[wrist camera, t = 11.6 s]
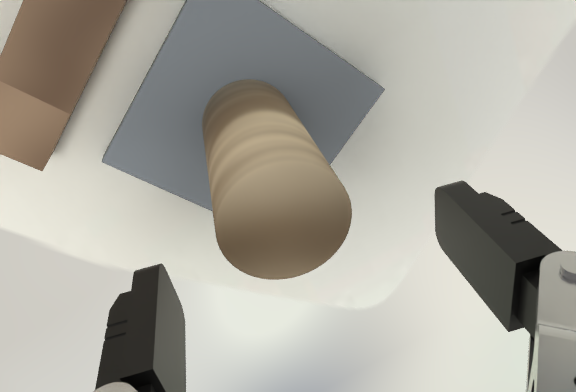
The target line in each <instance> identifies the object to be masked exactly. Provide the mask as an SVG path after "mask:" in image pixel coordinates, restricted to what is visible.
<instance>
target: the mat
mask: <svg viewBox="0 0 576 392" xmlns="http://www.w3.org/2000/svg"><path fill="white" fill-rule="evenodd" d="M245 79H253V80H259V81H263V82H266V83H268V84H270V85H272V86H274V87H275V88H276V89H278V90H279V91H280V92H281V93H282V94H283V95H284V97H285V98H286V100H287V101H288V103H289V104H290V106H291V107H292V109H293V110H294V112H295V113H296V115H297V116H298V118H299V119H300V121H301V122H302V124H303V125H304V127H305V128H306V130H307V131H308V133H309V135H310V136H311V138H312V139H313V141H314V142H315V144H316V145H317V147H318V148H319V150H320V151H321V153H322V154H323V156H324V157H325V159H326V160H327V162H328V163H329V165H330V164H331V163H332V161H333V160H334V158H335V157H336V156H337V154H338V153H339V152H340V150H341V149H342V147H343V146H344V145H345V143H346V142H347V141H348V139H349V138H350V136H351V135H352V134H353V132H354V131H355V130H356V128H357V127H358V125H359V124H360V123H361V121H362V120H363V119H364V117H365V116H366V114H367V113H368V112H369V110H370V109H371V108H372V106H373V105H374V103H375V102H376V101H377V99H378V98H379V97H380V95H381V94H382V93H383V91H384V90H385V89H384V88H383V87H381V86H380V85H378V84H377V83H376V82H374V81H373V80H371V79H370V78H369V77H367V76H366V75H364V74H363V73H361V72H360V71H359V70H357V69H356V68H354V67H353V66H351V65H350V64H349V63H347V62H346V61H344V60H343V59H341V58H340V57H339V56H337V55H336V54H334V53H333V52H332V51H330V50H329V49H327V48H326V47H324V46H323V45H322V44H320V43H319V42H317V41H316V40H314V39H313V38H312V37H310V36H309V35H307V34H306V33H304V32H303V31H302V30H300V29H299V28H297V27H296V26H295V25H293V24H292V23H290V22H289V21H287V20H286V19H285V18H283V17H282V16H280V15H279V14H277V13H276V12H275V11H273V10H272V9H270V8H269V7H267V6H266V5H265V4H263V3H262V2H260V1H259V0H186V2H185V3H184V5H183V7H182V9H181V11H180V13H179V15H178V17H177V19H176V20H175V22H174V24H173V26H172V28H171V30H170V32H169V34H168V35H167V37H166V39H165V41H164V43H163V45H162V47H161V49H160V50H159V52H158V54H157V56H156V58H155V60H154V62H153V64H152V65H151V67H150V69H149V71H148V73H147V75H146V77H145V79H144V81H143V82H142V84H141V86H140V88H139V90H138V92H137V94H136V96H135V97H134V99H133V101H132V103H131V105H130V107H129V109H128V111H127V112H126V114H125V116H124V118H123V120H122V122H121V124H120V126H119V128H118V129H117V131H116V133H115V135H114V137H113V139H112V141H111V143H110V144H109V146H108V148H107V150H106V152H105V154H104V156H103V159H102V162H103V163H105V164H107V165H109V166H112V167H114V168H116V169H118V170H121V171H123V172H125V173H127V174H130V175H132V176H134V177H136V178H139V179H141V180H143V181H146V182H148V183H150V184H152V185H155V186H157V187H159V188H161V189H164V190H166V191H168V192H170V193H173V194H175V195H177V196H179V197H182V198H184V199H186V200H188V201H191V202H193V203H195V204H197V205H200V206H202V207H204V208H206V209H209V210H211V211H213V209H212V201H211V193H210V185H209V177H208V169H207V162H206V154H205V146H204V138H203V130H202V118H203V113H204V110H205V108H206V105H207V103H208V102H209V100H210V99H211V97H212V96H213V95H214V94H215V93H216V92H217V91H218V90H219V89H221V88H222V87H224V86H225V85H227V84H229V83H232V82H235V81H238V80H245Z"/></svg>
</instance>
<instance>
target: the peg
mask: <svg viewBox="0 0 576 392" xmlns="http://www.w3.org/2000/svg"><path fill="white" fill-rule="evenodd" d="M202 130H203V138H204V146H205V154H206V162H207V169H208V177H209V185H210V193H211V201H212V209H213V217H214V224H215V232H216V238H217V242H218V245H219V248H220V250H221V251H222V253H223V255H224V256H225V258H226V259H227V260H228V261H229V262H230V263H231V264H232V265H233V266H234V267H236V268H237V269H239V270H240V271H242V272H244V273H246V274H248V275H251V276H254V277H258V278H262V279H277V280H278V279H287V278H293V277H296V276H300V275H303V274H305V273H308V272H310V271H312V270H314V269H316V268H318V267H319V266H321V265H322V264H324V263H325V262H326V261H327V260H328V259H330V258H331V257H332V256H333V255H334V254H335V253H336V252H337V250H338V249H339V248H340V246H341V245H342V243H343V242H344V240H345V238H346V236H347V234H348V231H349V228H350V224H351V218H352V209H351V202H350V199H349V196H348V194H347V192H346V190H345V188H344V186H343V185H342V183H341V182H340V180H339V179H338V177H337V176H336V174H335V173H334V171H333V170H332V168H331V166H330V165H329V163H328V162H327V160H326V159H325V157H324V156H323V154H322V153H321V151H320V150H319V148H318V147H317V145H316V144H315V142H314V141H313V139H312V138H311V136H310V135H309V133H308V131H307V130H306V128H305V127H304V125H303V124H302V122H301V121H300V119H299V118H298V116H297V115H296V113H295V112H294V110H293V109H292V107H291V106H290V104H289V103H288V101H287V100H286V98H285V97H284V95H283V94H282V93H281V92H280V91H279V90H278V89H276V88H275V87H274V86H272V85H270V84H268V83H266V82H263V81H259V80H253V79H245V80H238V81H235V82H232V83H229V84H227V85H225V86H224V87H222V88H221V89H219V90H218V91H217V92H216V93H215V94H214V95H213V96H212V97H211V99H210V100H209V102H208V103H207V105H206V108H205V110H204V113H203V118H202Z"/></svg>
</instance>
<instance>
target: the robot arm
mask: <svg viewBox="0 0 576 392" xmlns="http://www.w3.org/2000/svg"><path fill="white" fill-rule="evenodd" d="M435 231H436V236H437V239H438V242H439V244H440V246H441V248H442V250H443V251H444V252H445V254H446V255H447V256H448V257H449V259H450V260H451V261H452V262H453V264H454V265H455V266H456V267H457V268H458V270H459V271H460V272H461V273H462V275H463V276H464V277H465V279H466V280H467V281H468V282H469V283H470V285H471V286H472V287H473V288H474V290H475V291H476V292H477V293H478V295H479V296H480V297H481V298H482V299H483V301H484V302H485V303H486V305H487V306H488V307H489V308H490V310H491V311H492V312H493V313H494V315H495V316H496V317H497V318H498V319H499V321H500V322H501V323H502V325H503V326H504V327H505V328H506V329H507V331H508V332H510V331H514V330H517V329H520V328H524V327H525V329H526V330H527V331H528V332H529V333H530V339H529V351H528V366H527V382H526V392H576V252H575V251H562V250H561V249H560V248H559V247H558V246H556V245H555V244H554V243H553V242H552V241H550V240H549V239H548V238H547V237H546V236H545V235H543V234H542V233H541V232H540V231H539V230H538V229H536V228H535V227H534V226H533V225H532V224H531V223H529V222H528V221H525V218H524V217H522V216H521V215H520V214H519V213H518V212H515V210H514V209H513V208H512V207H511V206H509V205H508V204H507V203H506V202H505V201H504V200H502V199H500V198H498V197H495V196H493V195H490V194H488V193H486V192H484V193H480V194H478V193H477V192H476V191H475V190H474V189H473V188H472V187H470V186H469V185H468V184H467V183H466V182H464V181H459V182H455V183H451V184H448V185H444V186H441V187H437V188H436V190H435ZM94 392H186V360H185V319H184V313H183V309H182V305H181V303H180V300H179V298H178V296H177V293H176V291H175V289H174V287H173V285H172V282H171V280H170V278H169V276H168V273H167V271H166V269H165V267H164V265H163V264H158V265H154V266H151V267H147V268H143V269H140V270H136V271H135V272H134V275H133V282H132V289H131V291H129V292H126V293H122V294H120V295H119V296H118V298H117V299H116V301H115V302H114V304H113V306H112V307H111V309H110V311H109V317H108V322H107V329H106V333H105V341H104V344H103V350H102V355H101V361H100V366H99V371H98V377H97V383H96V388H95V391H94Z"/></svg>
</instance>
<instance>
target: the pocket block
mask: <svg viewBox="0 0 576 392" xmlns="http://www.w3.org/2000/svg"><path fill="white" fill-rule="evenodd" d="M126 2H127V0H23V3H22V5H21V7H20V10H19V12H18V15H17V17H16V20H15V22H14V24H13V27H12V29H11V32H10V34H9V37H8V39H7V41H6V44H5V46H4V49H3V51H2V54H1V56H0V154H2V155H4V156H6V157H9V158H11V159H14V160H16V161H18V162H21V163H23V164H26V165H28V166H31V167H33V168H35V169H38V170H40V171H43V169H44V167H45V166H46V164H47V162H48V160H49V159H50V157H51V155H52V153H53V151H54V149H55V147H56V145H57V143H58V141H59V139H60V137H61V135H62V133H63V131H64V129H65V127H66V125H67V123H68V121H69V119H70V116H71V114H72V112H73V110H74V108H75V106H76V104H77V102H78V100H79V98H80V96H81V94H82V92H83V90H84V88H85V86H86V84H87V82H88V80H89V78H90V76H91V73H92V71H93V69H94V67H95V65H96V63H97V61H98V59H99V57H100V55H101V53H102V51H103V49H104V47H105V45H106V43H107V41H108V39H109V37H110V35H111V33H112V30H113V28H114V26H115V24H116V22H117V20H118V18H119V16H120V14H121V12H122V10H123V8H124V6H125V4H126Z"/></svg>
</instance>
